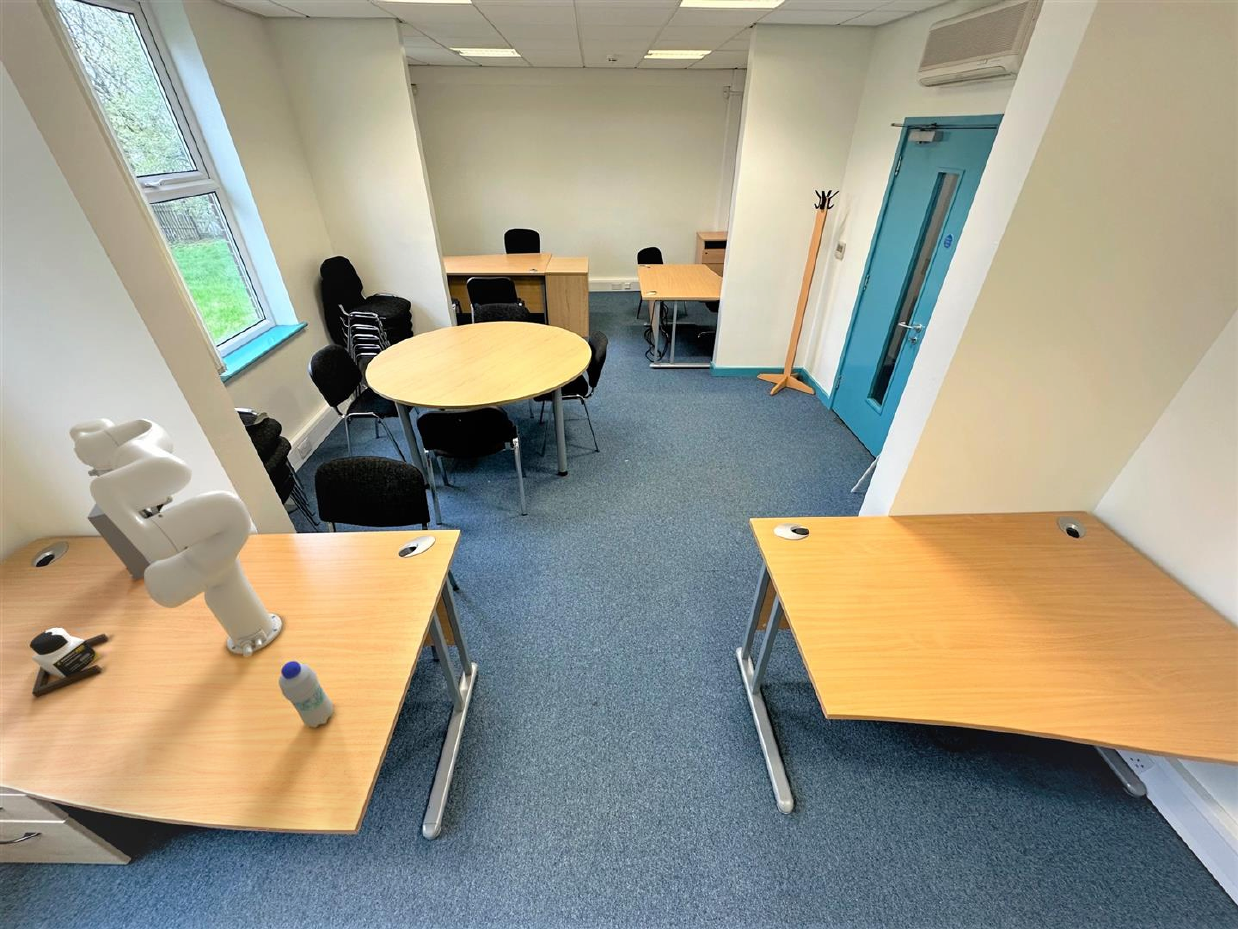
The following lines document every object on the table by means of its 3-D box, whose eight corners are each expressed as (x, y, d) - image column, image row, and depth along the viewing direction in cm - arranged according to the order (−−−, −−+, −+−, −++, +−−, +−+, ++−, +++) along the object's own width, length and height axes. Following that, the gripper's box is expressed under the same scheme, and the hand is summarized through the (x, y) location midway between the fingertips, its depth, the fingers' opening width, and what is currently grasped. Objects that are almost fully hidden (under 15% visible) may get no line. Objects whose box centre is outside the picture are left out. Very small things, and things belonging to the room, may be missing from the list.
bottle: (328, 697, 118) (298, 647, 107) (341, 714, 114) (311, 664, 103) (299, 718, 113) (264, 668, 102) (312, 737, 110) (277, 687, 99)
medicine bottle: (70, 680, 122) (38, 651, 115) (49, 674, 123) (16, 645, 116) (101, 656, 127) (72, 627, 121) (81, 651, 129) (51, 621, 122)
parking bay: (101, 672, 123) (96, 667, 122) (37, 698, 118) (31, 693, 117) (108, 637, 132) (104, 633, 131) (48, 660, 126) (43, 655, 125)
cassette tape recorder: (144, 553, 160) (98, 493, 146) (167, 547, 162) (124, 487, 148) (133, 581, 149) (83, 519, 136) (157, 574, 152) (111, 512, 138)
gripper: (74, 486, 111) (120, 545, 121) (157, 465, 118) (194, 522, 128) (80, 471, 116) (124, 529, 126) (159, 452, 123) (195, 508, 133)
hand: (159, 525), depth 127 cm, fingers closed
